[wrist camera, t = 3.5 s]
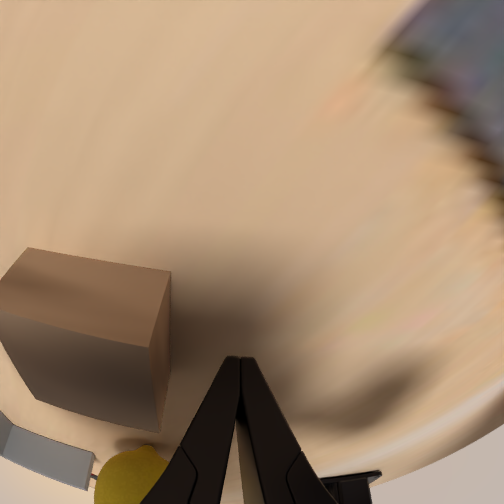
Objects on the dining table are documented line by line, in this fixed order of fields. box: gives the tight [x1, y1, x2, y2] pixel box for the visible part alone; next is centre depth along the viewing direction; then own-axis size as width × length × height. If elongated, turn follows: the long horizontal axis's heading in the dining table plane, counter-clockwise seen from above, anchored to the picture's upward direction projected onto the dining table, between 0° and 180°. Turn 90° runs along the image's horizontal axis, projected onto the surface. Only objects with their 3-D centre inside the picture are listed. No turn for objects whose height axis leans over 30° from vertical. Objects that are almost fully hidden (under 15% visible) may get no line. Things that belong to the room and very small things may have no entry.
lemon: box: [94, 445, 169, 504], centre depth 13 cm, size 6×6×8 cm
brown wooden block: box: [0, 247, 171, 433], centre depth 9 cm, size 5×5×3 cm
